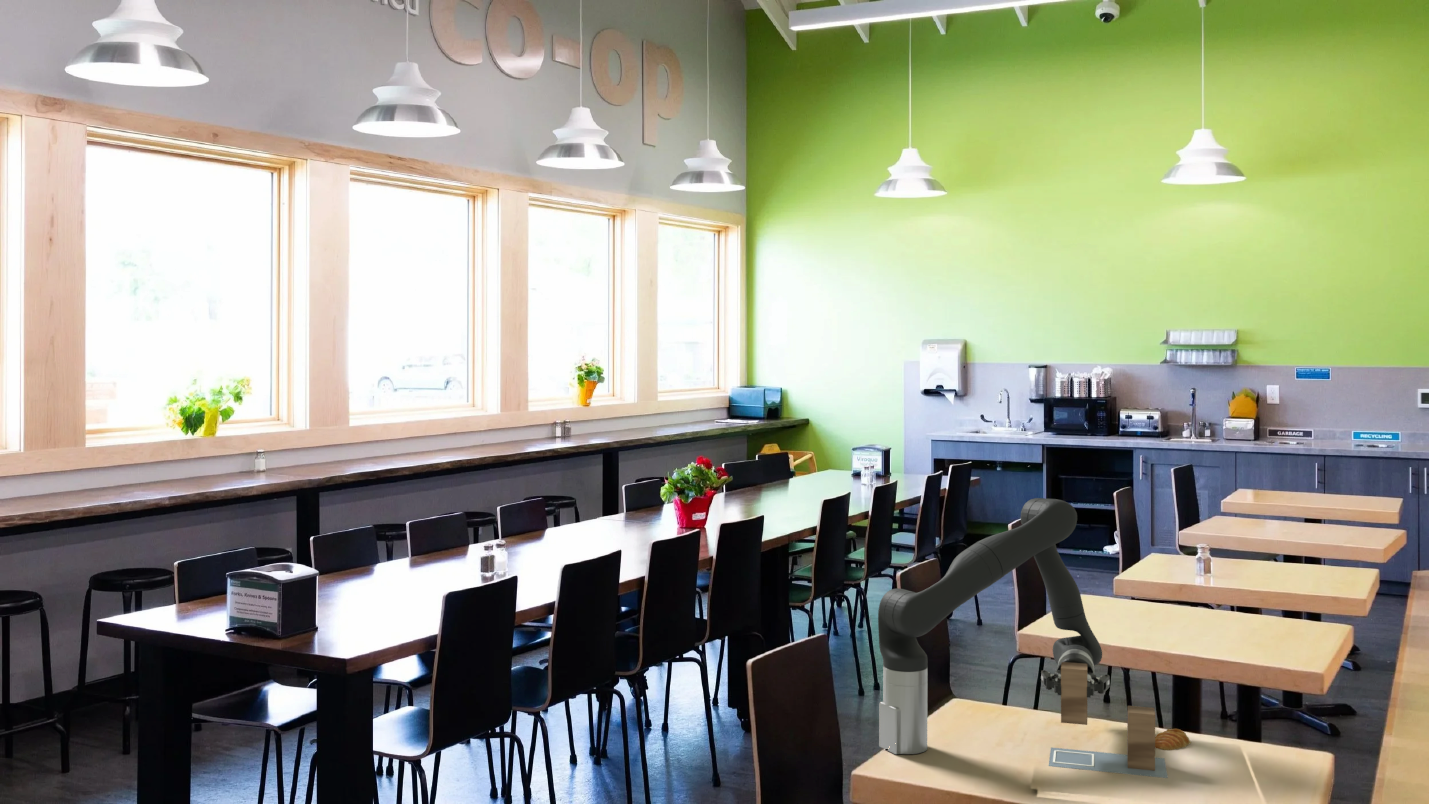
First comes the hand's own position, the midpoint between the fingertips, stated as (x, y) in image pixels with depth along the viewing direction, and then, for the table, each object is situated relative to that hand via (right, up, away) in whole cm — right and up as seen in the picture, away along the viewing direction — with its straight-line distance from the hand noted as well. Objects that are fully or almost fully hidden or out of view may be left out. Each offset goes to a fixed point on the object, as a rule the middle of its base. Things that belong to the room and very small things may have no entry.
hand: (1074, 691), depth 230 cm
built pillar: (+13, -14, -1) cm, 19 cm away
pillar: (+1, -6, +3) cm, 7 cm away
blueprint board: (+7, -16, +1) cm, 17 cm away
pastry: (+24, -16, +13) cm, 31 cm away
